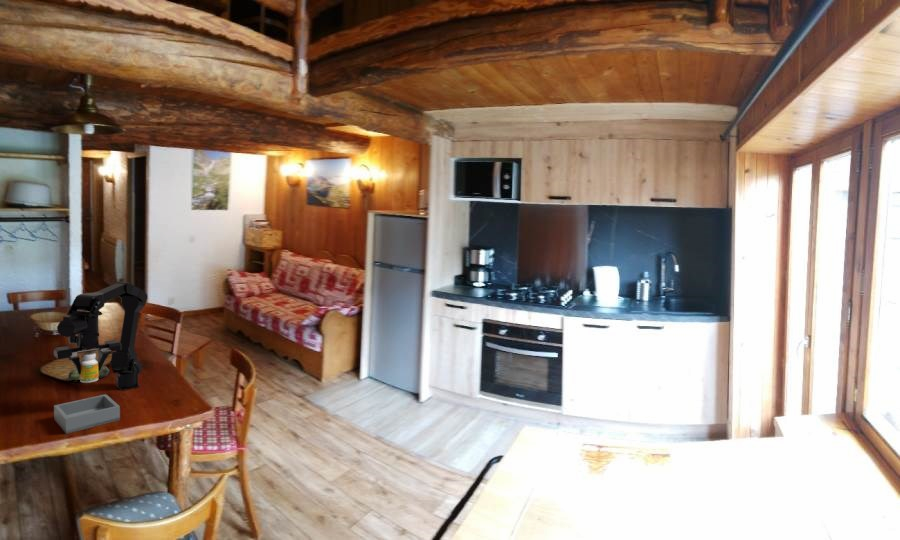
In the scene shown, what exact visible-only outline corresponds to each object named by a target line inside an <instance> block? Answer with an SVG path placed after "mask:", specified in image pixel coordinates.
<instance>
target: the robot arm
mask: <svg viewBox="0 0 900 540" xmlns="http://www.w3.org/2000/svg"><path fill="white" fill-rule="evenodd" d="M117 297H118V298H120V299H121V306H122V308H123V310H124V315H123V322H122V328H121V335H120V340H119V341H118V340H117V339H112V340H105V341H104V343H103V344H99V340H100V339H99V337H100V333H99V331H100V330H99V316H102V315H103V312H102V311H100V310H101V309H102V308H104V307H105V304H106V303H107V302H110V301H112V300H113V299H116V298H117ZM147 300H148V294H147V292H146V291H145V290H144V289H141V288H139V287H138V286H135V285H134V284H133V283H131V282H128V281H127V282H126V281H118V282H114V284H112V285H109V286H107V287H105V288H102V289H101V290H98V291H94V292H85V293H80V294H78V295H77V296H75V298H74V299H73V301H72V303H71V306H70V308H68V309H69V310H68V312H67V313H66V315H65V316H63V318H62V319H63V320H61V321H59V322H58V325H57V327H56V329H57V332H58V334H59V335H61V337H63V338H67V340H68V344H70V345H72V344H75V345H74V346H75V347H73V348H71V347H70V346H68V345H66V346H59V347H55V348H54V349H53V356H54V357H55V358H56V359H57V360H62V359H63V360H64V359H67V360H69V361H71V362H72V364H73V365H74V367H75V368H74V369H76V370H77V372H78V374H80V373H81V368H80V361H81V360H80V356H79V355H78V354H81V353H90V352H96V351H97V354H98V355H97V357H98V358H97V360H98V371H100V369H101V367H102V366H104V363H105V361H106V360H107V358H108V356H109V355H111V359H110V367H111V369H112V372H113V374H117V376H115V383H116V384H115V386H116V387H117V388H118V389H119V390H120V391H126V390H129V389H135V388H139V387H140V386H141V385H140V384H139V374H140V373H141V372H142V370H143V365H142V363H141V362H140V361H138V353H137V351H136V349H135V342H136V338H137V329H138V324H139V318H140V312H141V311H142V310H143V309H144V308H145V307H146V304H147Z"/></svg>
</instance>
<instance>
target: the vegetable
mask: <svg viewBox="0 0 900 540" xmlns="http://www.w3.org/2000/svg"><path fill="white" fill-rule="evenodd" d="M110 371H111V370H110V369H109V368H108V367H107V366H106V365H102V367H101V369H100V371H98V374H99V378H105V377H106V376H108V375H109V373H110ZM99 378H98V379H99ZM68 379H69V380H70V381H71V380H77V379H78V380H80V374H78V372H77V370H76V368H74V369H72V370H70V371H69V373H68Z"/></svg>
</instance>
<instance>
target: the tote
mask: <svg viewBox="0 0 900 540" xmlns="http://www.w3.org/2000/svg"><path fill="white" fill-rule="evenodd" d="M53 413H54V414H53V416H54V417H53V419H54V421H55V422H56V424H57V425H58V426H59V427H60V428H61V429H62V431H63V432H64V433H65V434H66V435H68V434H71V433H75V432H76V433H77V432H79V431H82V430H83V431H84V430H87V429H91V428H94V427H99V426H101V425H106V424H110V423H114V422H117V421H120V420H121V406H120V405H119V404H118V403H117V402H116V401H114V399H112V398H111V397H110V396H109V395H108V394H100V395H97V396H92V397H91V396H90V397H87V398H83V399H78V400H74V401H69V402H64V403H60V404H55V405H53Z"/></svg>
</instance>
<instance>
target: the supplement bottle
mask: <svg viewBox="0 0 900 540" xmlns="http://www.w3.org/2000/svg"><path fill="white" fill-rule="evenodd" d="M96 357H97V354H96V353H95V352H84V353H83V354H82V355H81V358H82V360H80V368H81V373H80V381H79V382H81V383H83V384H88V383H89V384H91V383H95V382H97V381H98V380H99V374H98V358H96Z"/></svg>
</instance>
